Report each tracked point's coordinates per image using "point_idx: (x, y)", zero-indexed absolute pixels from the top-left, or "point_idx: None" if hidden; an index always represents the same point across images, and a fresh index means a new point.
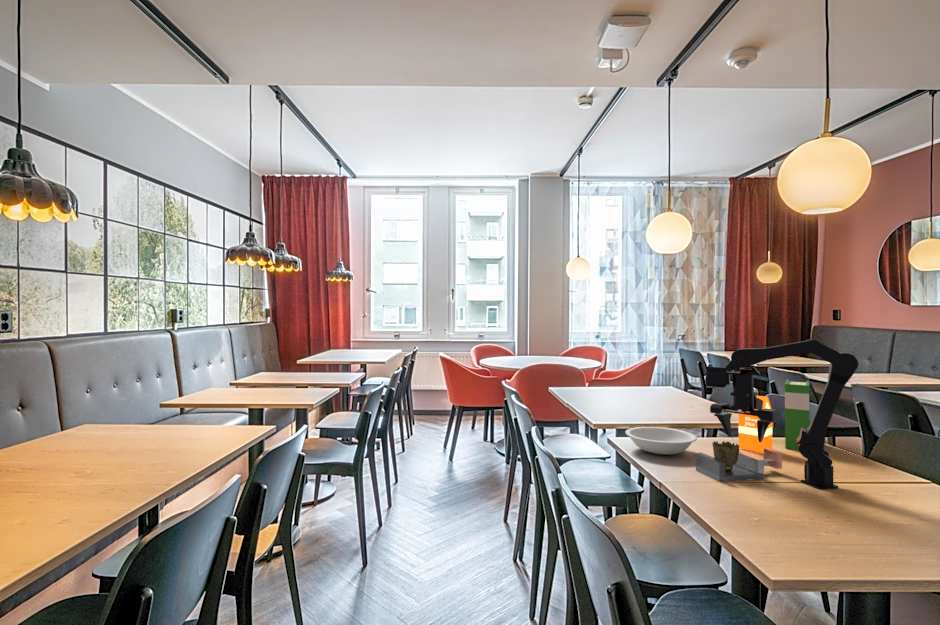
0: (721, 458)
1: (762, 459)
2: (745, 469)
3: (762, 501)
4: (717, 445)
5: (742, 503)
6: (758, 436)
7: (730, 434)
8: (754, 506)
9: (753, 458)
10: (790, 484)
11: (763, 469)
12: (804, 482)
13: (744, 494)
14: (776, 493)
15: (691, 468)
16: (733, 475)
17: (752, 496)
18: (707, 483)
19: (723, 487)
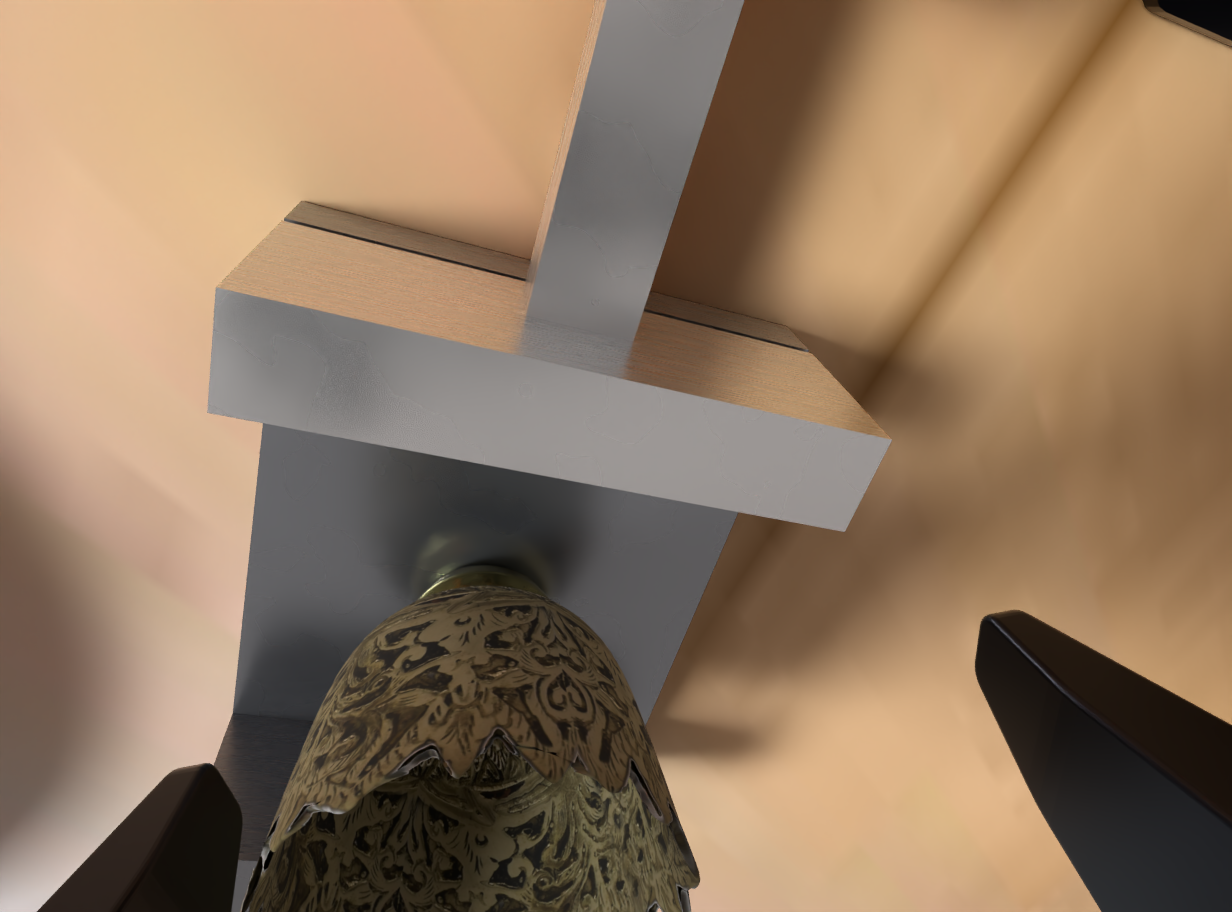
0: (527, 832)
1: (872, 447)
2: None
3: (1016, 783)
4: (281, 856)
5: (945, 885)
6: (1078, 843)
7: (202, 826)
8: (1011, 865)
9: (756, 513)
10: (1059, 230)
11: (826, 378)
12: (1198, 30)
13: (882, 788)
14: (1035, 590)
15: (171, 717)
16: (660, 683)
17: (935, 772)
18: None
19: (714, 810)
